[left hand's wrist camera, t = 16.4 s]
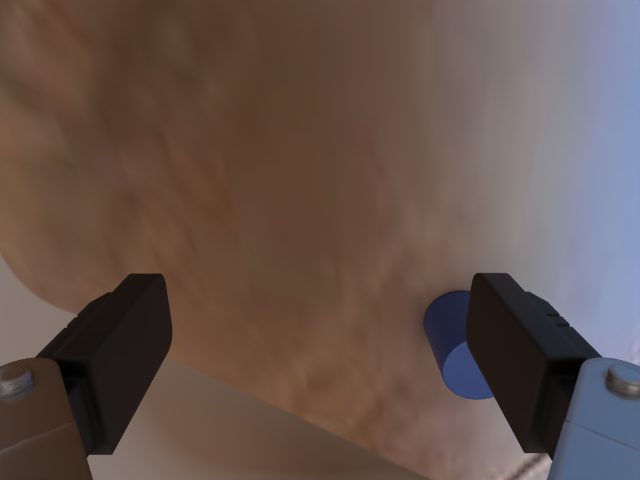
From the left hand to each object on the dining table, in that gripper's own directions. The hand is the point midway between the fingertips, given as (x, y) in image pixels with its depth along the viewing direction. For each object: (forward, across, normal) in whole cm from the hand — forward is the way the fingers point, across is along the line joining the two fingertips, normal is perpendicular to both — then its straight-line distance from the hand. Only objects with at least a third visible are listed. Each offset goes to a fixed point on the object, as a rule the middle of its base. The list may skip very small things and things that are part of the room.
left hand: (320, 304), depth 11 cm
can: (+13, +8, -9) cm, 18 cm away
